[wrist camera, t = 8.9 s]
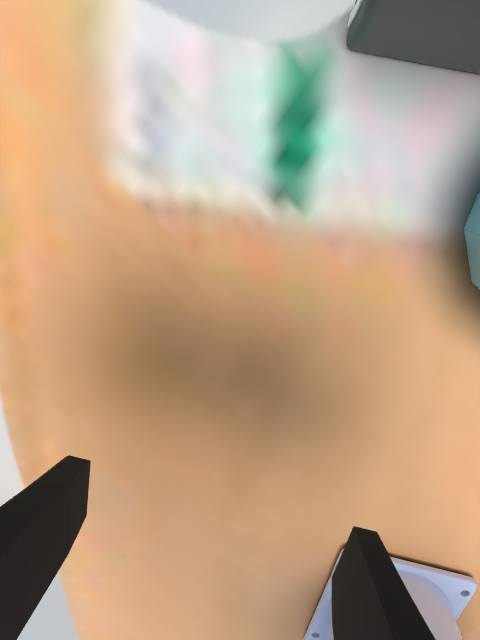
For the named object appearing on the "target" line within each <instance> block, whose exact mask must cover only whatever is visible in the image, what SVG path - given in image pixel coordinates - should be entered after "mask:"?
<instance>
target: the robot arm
mask: <svg viewBox="0 0 480 640" xmlns="http://www.w3.org/2000/svg"><path fill="white" fill-rule="evenodd" d="M89 475H90V460H86V459H82V458H78V457H73V456H67V457H65V458H64V459H62V460H61V461H60V462H59V463H57V464H56V465H55V466H53V467H52V468H51V469H50V470H48V471H47V472H46V473H45V474H43V475H42V476H41V477H39V478H38V479H37V480H36V481H34V482H33V483H32V484H30V485H29V486H28V487H26V488H25V489H24V490H22V491H21V492H20V493H18V494H17V495H16V496H14V497H13V498H12V499H10V500H9V501H7V502H6V503H5V504H3V505H2V506H1V507H0V640H17V638H18V636H19V635H20V633H21V631H22V630H23V628H24V627H25V624H26V623H27V622H28V620H29V618H30V617H31V615H32V613H33V611H34V610H35V608H36V607H37V605H38V603H39V602H40V600H41V599H42V597H43V595H44V594H45V592H46V590H47V589H48V587H49V585H50V584H51V582H52V580H53V579H54V577H55V575H56V574H57V572H58V570H59V569H60V567H61V565H62V564H63V562H64V560H65V559H66V557H67V555H68V554H69V551H70V549H71V547H72V545H73V543H74V541H75V539H76V537H77V535H78V533H79V531H80V528H81V526H82V524H83V522H84V520H85V518H86V515H87V502H88V488H89ZM476 590H477V584H476V582H475V580H474V579H473V578H472V577H469V576H465V575H461V574H457V573H453V572H449V571H445V570H441V569H437V568H433V567H429V566H425V565H421V564H417V563H413V562H409V561H405V560H401V559H397V558H393V557H390V556H389V554H388V552H387V550H386V548H385V546H384V544H383V542H382V541H381V539H380V537H379V535H378V533H377V532H375V531H371V530H367V529H363V528H359V527H355V526H354V527H353V529H352V531H351V534H350V536H349V538H348V541H347V543H346V545H345V548H343V549H342V551H341V553H340V555H339V557H338V560H337V562H336V564H335V567H334V569H333V571H332V574H331V576H330V578H329V581H328V583H327V585H326V588H325V590H324V592H323V595H322V597H321V599H320V601H319V604H318V606H317V608H316V611H315V613H314V615H313V618H312V620H311V622H310V625H309V627H308V629H307V632H306V634H305V636H304V640H463V639H462V636H461V633H460V631H459V628H458V625H457V622H456V620H457V619H458V617H459V616H460V614H461V613H462V611H463V610H464V608H465V607H466V605H467V604H468V602H469V600H470V599H471V597H472V596H473V594H474V593H475V591H476Z"/></svg>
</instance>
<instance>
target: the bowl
mask: <svg viewBox="0 0 480 640" xmlns="http://www.w3.org/2000/svg"><path fill="white" fill-rule="evenodd" d="M464 234H465V241H466V248H467V254H468V261H469V268H470V275H471V281H472V283H473V284H474V285H475V286H476V287H477V288H478V289H479V290H480V191H479V193H478V196H477V198H476V200H475V203H474V205H473V208H472V210H471V212H470V215H469V217H468V220H467V222H466V225H465V227H464Z"/></svg>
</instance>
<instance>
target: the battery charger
mask: <svg viewBox="0 0 480 640" xmlns="http://www.w3.org/2000/svg"><path fill="white" fill-rule="evenodd" d="M347 27H348V28H349V32H348V37H347V43H348V47H349V48H350V49H351V50H354V51H358V52H363V53H369V54H374V55H379V56H384V57H390V58H395V59H401V60H406V61H411V62H417V63H422V64H428V65H433V66H439V67H444V68H450V69H456V70H461V71H467V72H472V73H478V74H480V0H356V2H355V6H354V8H353V10H352V12H351V13H350V17H349V21H348V25H347Z"/></svg>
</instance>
